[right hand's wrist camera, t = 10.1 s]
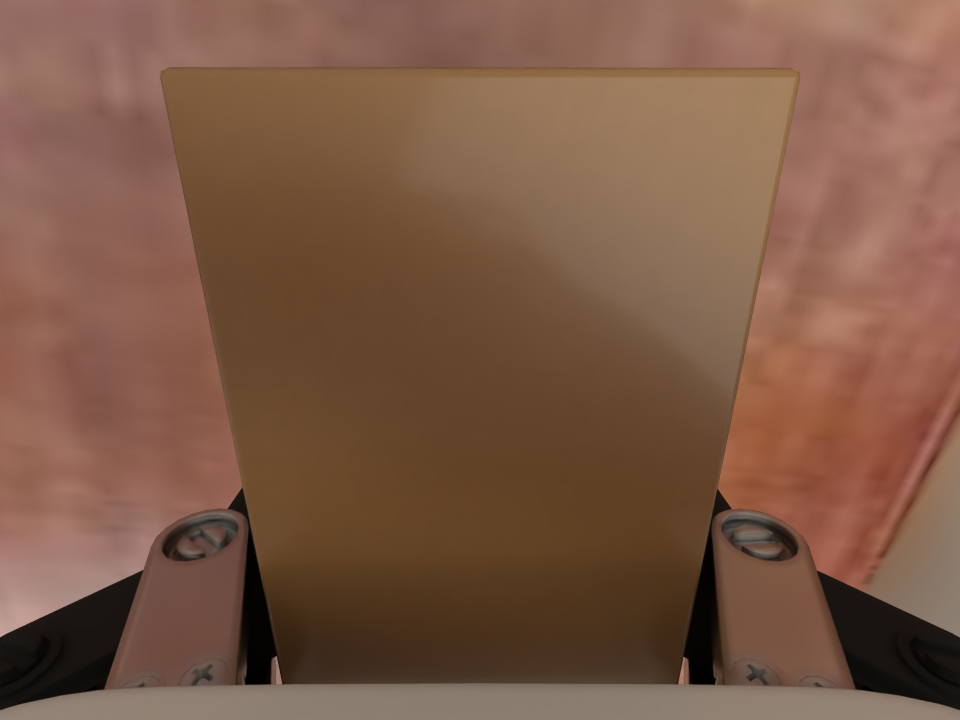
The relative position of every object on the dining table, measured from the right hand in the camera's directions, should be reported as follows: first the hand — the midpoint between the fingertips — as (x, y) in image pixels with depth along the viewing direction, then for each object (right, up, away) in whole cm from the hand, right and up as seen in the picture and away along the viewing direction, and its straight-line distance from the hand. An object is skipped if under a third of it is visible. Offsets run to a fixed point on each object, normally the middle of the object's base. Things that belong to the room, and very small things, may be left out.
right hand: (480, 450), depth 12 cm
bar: (0, -21, +11) cm, 24 cm away
